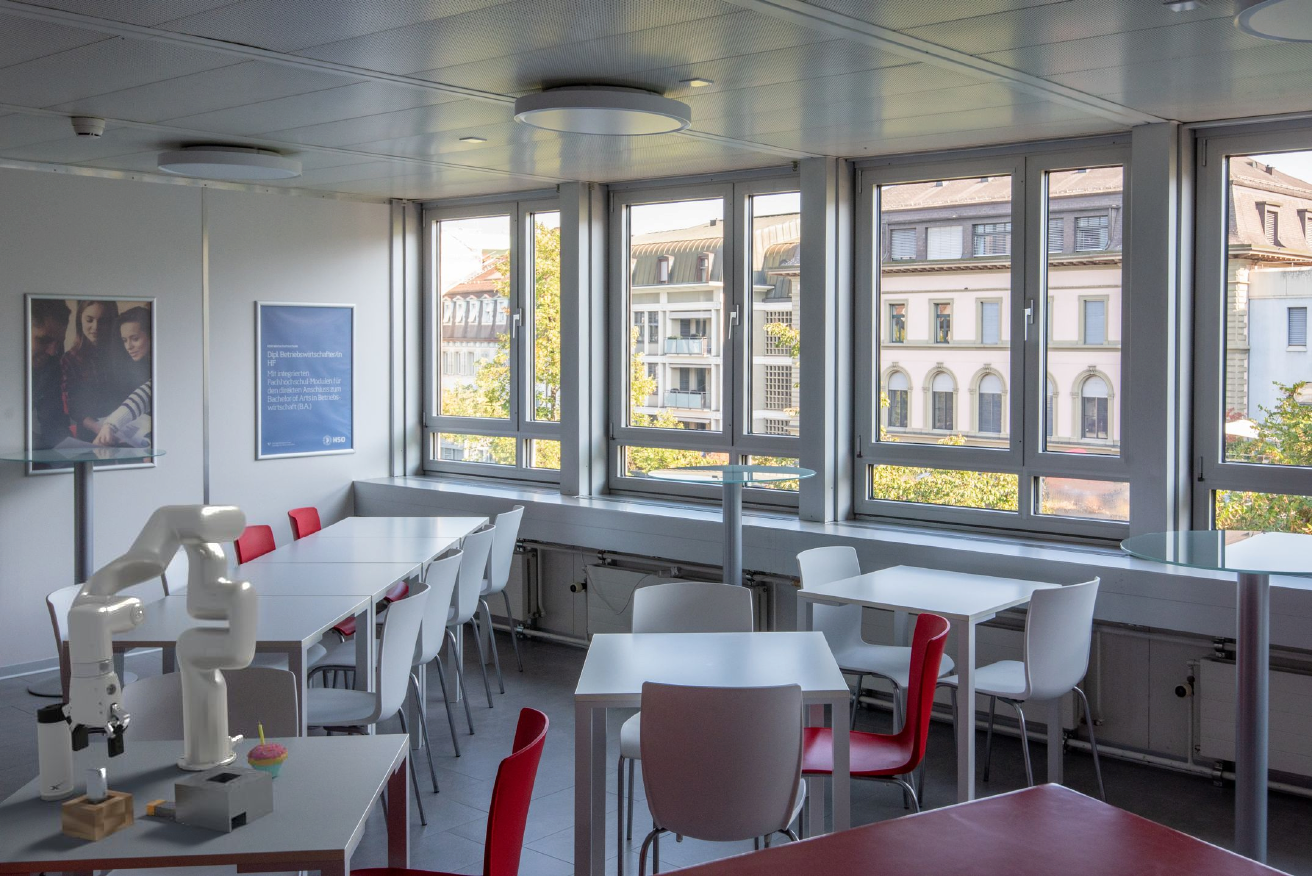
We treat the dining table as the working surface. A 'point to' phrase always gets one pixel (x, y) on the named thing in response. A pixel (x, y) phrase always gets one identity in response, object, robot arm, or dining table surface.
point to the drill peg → (96, 785)
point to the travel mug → (54, 753)
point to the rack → (97, 816)
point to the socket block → (223, 797)
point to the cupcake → (267, 756)
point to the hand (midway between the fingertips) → (98, 752)
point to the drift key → (162, 808)
